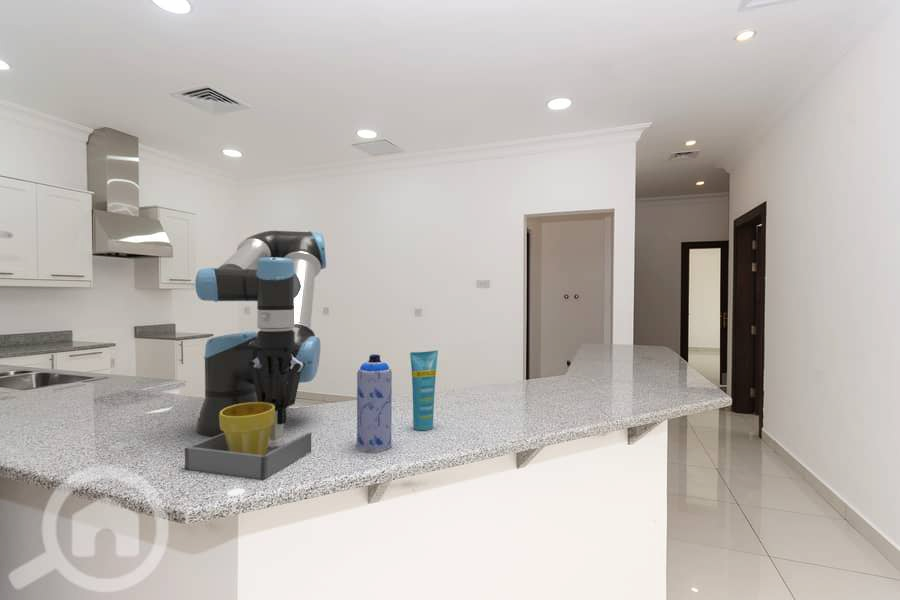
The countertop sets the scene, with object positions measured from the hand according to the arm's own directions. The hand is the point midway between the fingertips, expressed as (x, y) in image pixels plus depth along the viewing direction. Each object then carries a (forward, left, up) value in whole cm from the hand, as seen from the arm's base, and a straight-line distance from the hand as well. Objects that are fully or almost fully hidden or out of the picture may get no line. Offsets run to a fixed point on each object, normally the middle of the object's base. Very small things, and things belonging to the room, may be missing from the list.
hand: (276, 438), depth 98 cm
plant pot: (-2, -6, -2) cm, 7 cm away
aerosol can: (+20, +7, -2) cm, 21 cm away
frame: (0, -8, -2) cm, 8 cm away
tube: (+26, +23, -2) cm, 35 cm away
